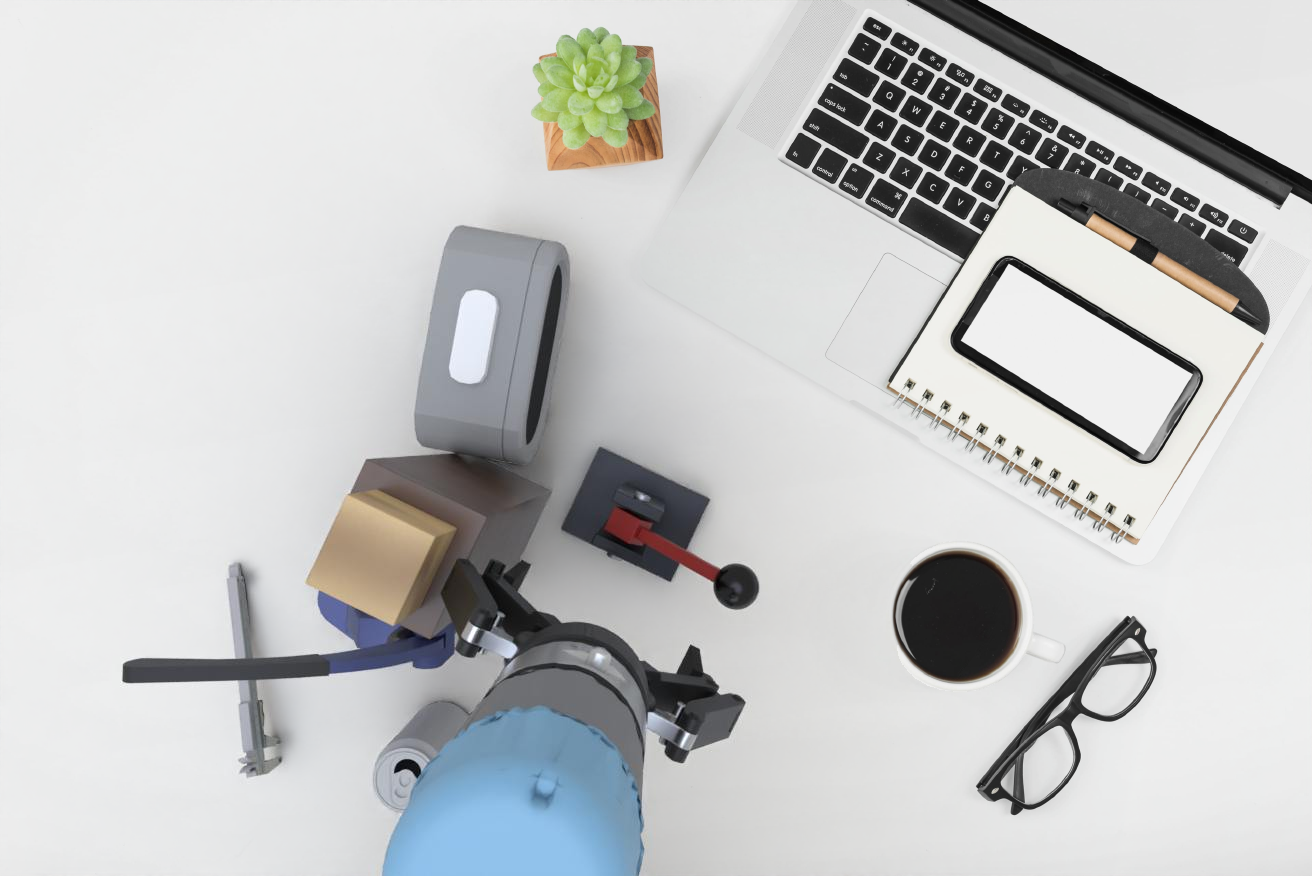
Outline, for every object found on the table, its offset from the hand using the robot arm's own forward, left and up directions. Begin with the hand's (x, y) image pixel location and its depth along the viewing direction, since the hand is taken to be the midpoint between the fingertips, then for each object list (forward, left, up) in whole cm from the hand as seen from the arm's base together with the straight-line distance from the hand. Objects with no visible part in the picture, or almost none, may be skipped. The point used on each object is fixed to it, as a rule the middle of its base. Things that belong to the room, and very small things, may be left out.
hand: (602, 620), depth 60 cm
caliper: (-24, +29, -23) cm, 44 cm away
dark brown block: (0, +14, -23) cm, 27 cm away
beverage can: (-22, +9, -23) cm, 33 cm away
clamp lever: (+6, -5, -9) cm, 12 cm away
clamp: (-12, +19, -23) cm, 32 cm away
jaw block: (0, +14, +5) cm, 15 cm away
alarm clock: (+15, +19, -23) cm, 33 cm away
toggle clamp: (+6, +1, -23) cm, 23 cm away
